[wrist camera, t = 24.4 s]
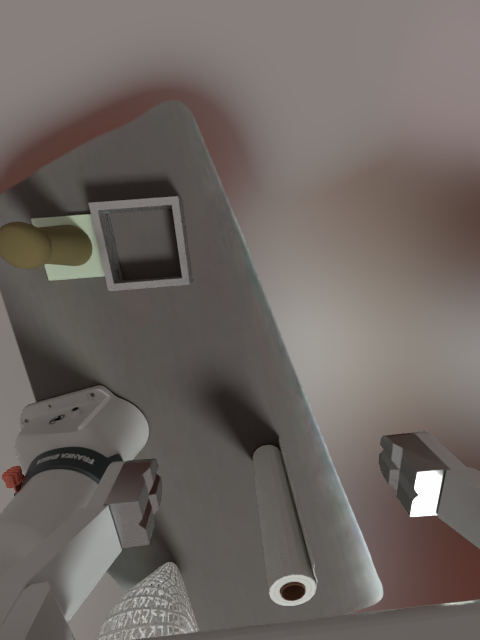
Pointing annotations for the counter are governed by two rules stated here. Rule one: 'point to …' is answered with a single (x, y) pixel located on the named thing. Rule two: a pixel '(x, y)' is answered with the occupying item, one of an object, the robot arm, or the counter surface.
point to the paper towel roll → (282, 530)
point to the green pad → (71, 272)
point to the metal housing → (110, 251)
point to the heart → (145, 584)
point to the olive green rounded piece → (44, 245)
